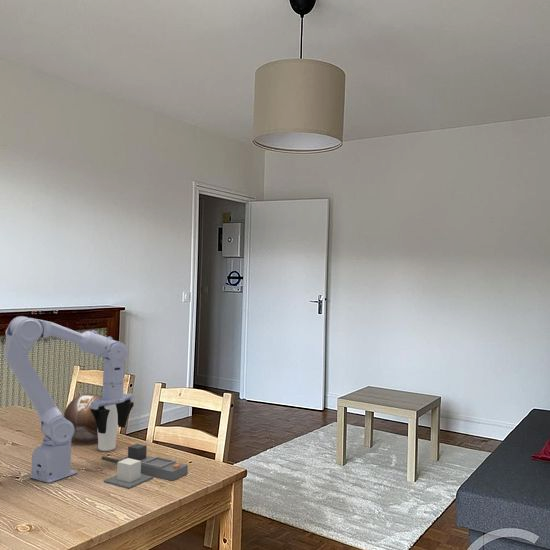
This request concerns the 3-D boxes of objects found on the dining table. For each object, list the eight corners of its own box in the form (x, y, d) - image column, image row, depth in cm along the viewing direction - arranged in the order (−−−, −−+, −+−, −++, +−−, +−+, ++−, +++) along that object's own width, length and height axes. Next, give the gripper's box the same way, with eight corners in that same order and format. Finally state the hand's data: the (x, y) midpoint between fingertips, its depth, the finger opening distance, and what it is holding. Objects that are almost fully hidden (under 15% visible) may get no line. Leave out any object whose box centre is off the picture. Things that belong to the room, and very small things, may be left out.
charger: (129, 482, 144) (130, 465, 144) (117, 479, 146) (117, 462, 146) (140, 477, 148) (141, 460, 148) (128, 474, 150) (128, 457, 150)
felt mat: (129, 488, 141) (129, 487, 141) (103, 481, 145) (103, 480, 145) (153, 478, 149) (153, 476, 149) (128, 472, 153) (128, 470, 153)
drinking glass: (104, 453, 169) (105, 404, 169) (90, 449, 173) (92, 401, 173) (122, 448, 174) (123, 400, 174) (109, 444, 178) (110, 397, 179)
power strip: (172, 480, 147) (172, 458, 147) (94, 461, 161) (94, 441, 161) (187, 473, 153) (188, 452, 153) (110, 455, 167) (111, 436, 167)
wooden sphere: (60, 447, 174) (62, 399, 174) (65, 434, 189) (66, 390, 189) (110, 444, 178) (111, 398, 178) (111, 432, 193) (112, 389, 193)
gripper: (104, 387, 151) (102, 437, 151) (141, 380, 164) (140, 426, 164) (86, 385, 154) (84, 434, 154) (123, 377, 167) (122, 423, 167)
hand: (112, 430), depth 159 cm, fingers open, 7 cm apart
